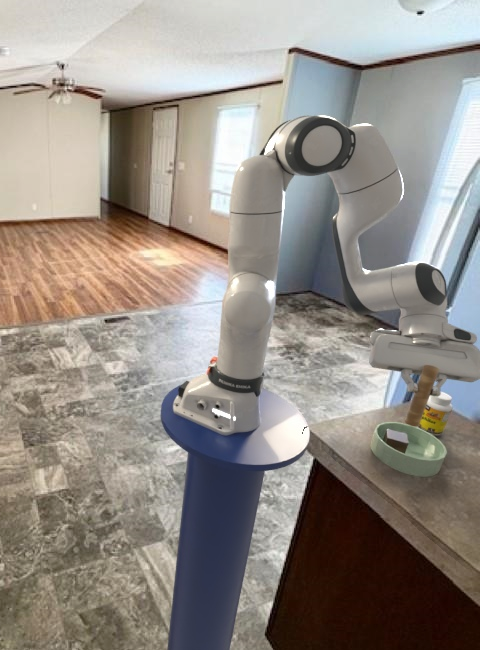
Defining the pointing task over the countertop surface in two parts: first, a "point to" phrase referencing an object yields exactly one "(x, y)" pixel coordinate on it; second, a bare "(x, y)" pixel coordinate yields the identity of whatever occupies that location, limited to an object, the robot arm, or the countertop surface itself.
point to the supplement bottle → (436, 414)
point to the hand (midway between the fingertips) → (423, 393)
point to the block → (396, 440)
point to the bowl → (410, 450)
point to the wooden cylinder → (421, 395)
